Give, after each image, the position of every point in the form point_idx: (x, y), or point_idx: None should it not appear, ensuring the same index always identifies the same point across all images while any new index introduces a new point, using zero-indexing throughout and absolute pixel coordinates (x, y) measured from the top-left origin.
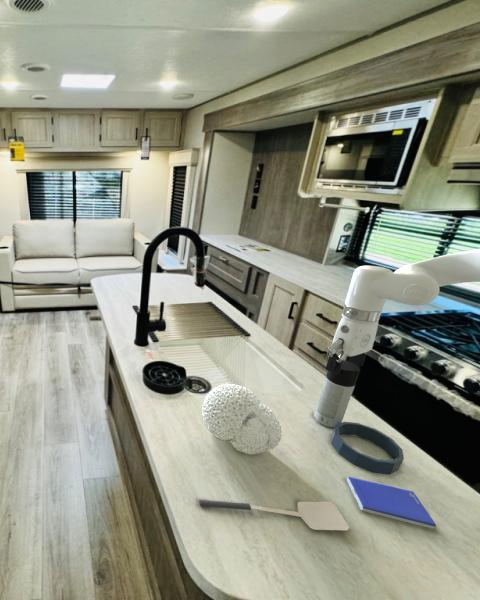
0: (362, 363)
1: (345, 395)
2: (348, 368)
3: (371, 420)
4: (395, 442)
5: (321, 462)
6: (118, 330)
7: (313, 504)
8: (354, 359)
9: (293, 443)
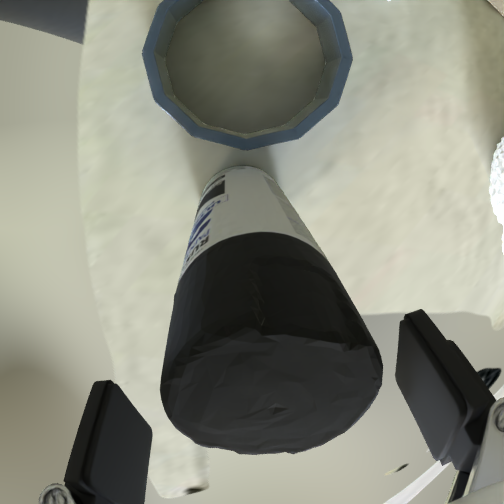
0: (92, 403)
1: (268, 209)
2: (301, 369)
3: (87, 188)
4: (149, 33)
5: (405, 60)
6: (434, 472)
7: (495, 1)
8: (132, 445)
9: (426, 136)
